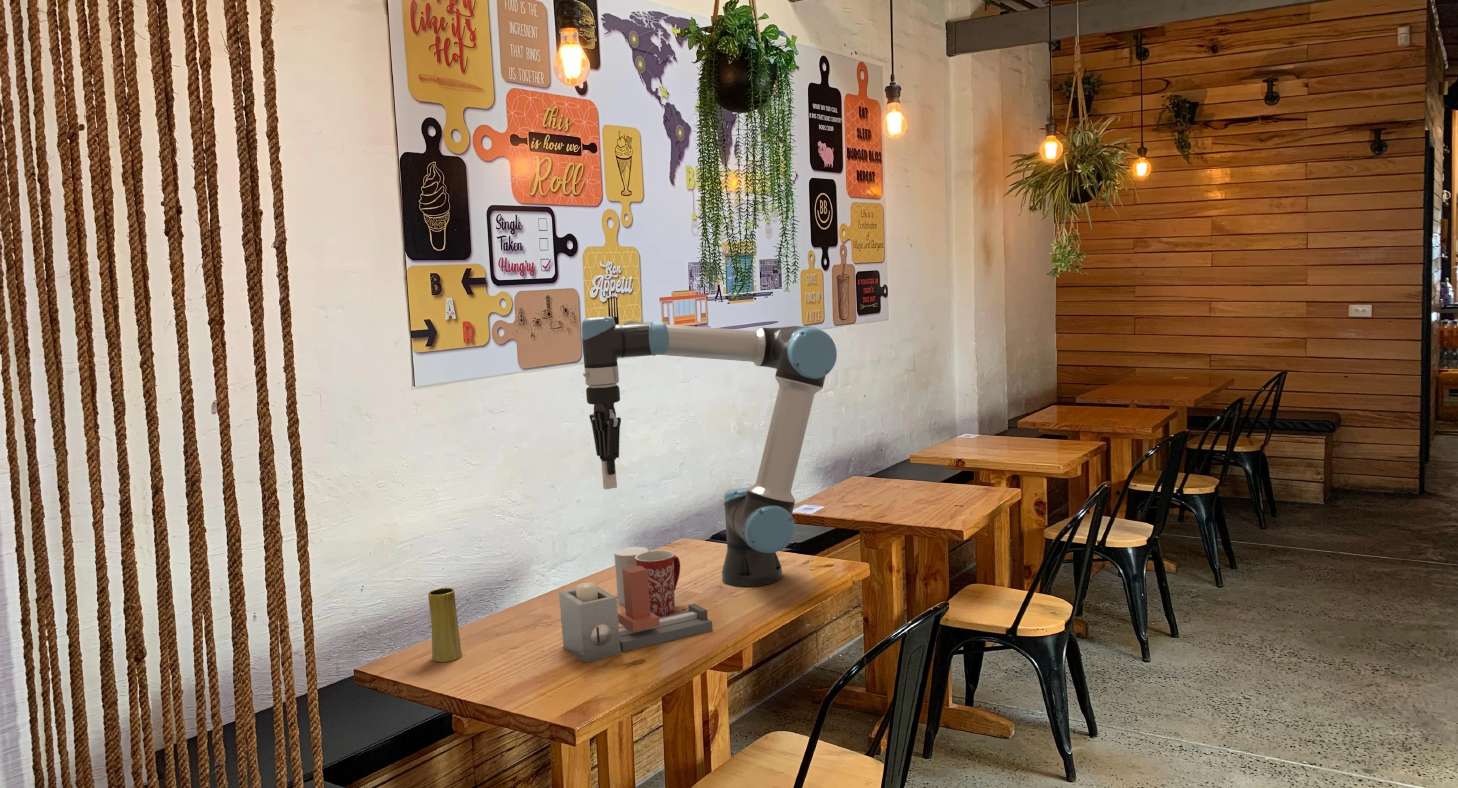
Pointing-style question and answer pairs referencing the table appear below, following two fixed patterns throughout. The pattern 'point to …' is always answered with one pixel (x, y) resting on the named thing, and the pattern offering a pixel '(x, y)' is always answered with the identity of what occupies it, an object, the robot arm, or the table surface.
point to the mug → (660, 579)
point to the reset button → (587, 591)
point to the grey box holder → (590, 625)
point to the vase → (444, 625)
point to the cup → (625, 566)
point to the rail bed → (667, 629)
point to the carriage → (637, 601)
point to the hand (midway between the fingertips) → (610, 487)
